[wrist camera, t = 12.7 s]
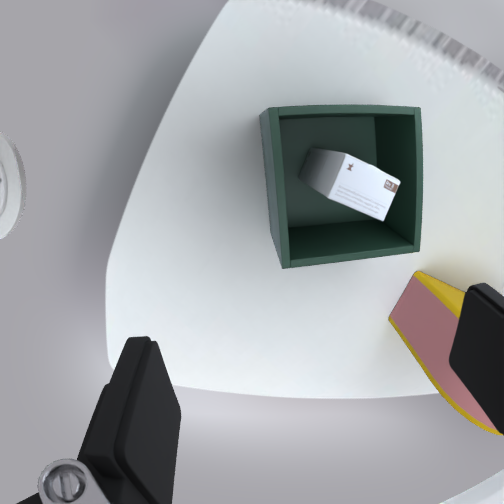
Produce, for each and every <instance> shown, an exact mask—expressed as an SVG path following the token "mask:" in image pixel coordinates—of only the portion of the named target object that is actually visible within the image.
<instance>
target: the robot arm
mask: <svg viewBox="0 0 504 504" xmlns="http://www.w3.org/2000/svg"><path fill="white" fill-rule="evenodd" d="M6 201H7V179H6V174H5V171H4V168H3V165H2V163H1V161H0V217H1V215H2V213H3V211H4V208H5V205H6ZM449 365H450V367H451V369H452V370H453V371H454V372H455V374H456V375H457V376H458V378H459V379H460V380H461V381H462V383H463V384H464V385H465V387H466V388H467V389H468V391H469V392H470V393H471V395H472V396H473V397H474V399H475V400H476V401H477V403H478V404H479V405H480V407H481V408H482V410H483V411H484V412H485V414H486V415H487V416H488V418H489V419H490V421H491V422H492V424H493V425H494V426H495V428H496V429H497V431H498V432H499V433H501V434H503V435H504V296H502V295H501V294H500V293H498V292H497V291H496V290H495V289H493V288H492V287H491V286H489V285H488V284H486V283H480V284H476V285H472V286H470V287H469V288H468V290H467V292H466V293H465V295H464V299H463V304H462V308H461V313H460V317H459V321H458V325H457V329H456V333H455V337H454V341H453V344H452V348H451V352H450V355H449ZM180 421H181V410H180V406H179V403H178V400H177V398H176V395H175V393H174V390H173V387H172V384H171V381H170V378H169V376H168V373H167V370H166V367H165V364H164V361H163V358H162V355H161V352H160V349H159V346H158V343H157V342H156V341H151V339H150V338H149V337H148V336H144V337H129V338H128V339H127V341H126V343H125V346H124V348H123V350H122V353H121V355H120V358H119V360H118V363H117V365H116V367H115V370H114V372H113V375H112V378H111V380H110V383H109V384H106V385H105V386H104V388H103V390H102V392H101V395H100V398H99V400H98V403H97V405H96V408H95V411H94V413H93V416H92V419H91V421H90V424H89V427H88V429H87V432H86V435H85V438H84V441H83V443H82V446H81V449H80V452H79V455H78V458H77V460H74V459H60V460H57V461H54V462H53V463H51V464H50V465H48V466H47V467H46V468H45V469H44V470H43V471H42V473H41V475H40V477H39V480H38V491H39V492H38V493H36V494H35V495H32V496H30V497H29V498H27V499H25V500H23V501H21V502H19V503H17V504H172V496H173V485H174V475H175V465H176V456H177V447H178V439H179V430H180ZM439 504H504V469H503V470H502V471H500V472H498V473H497V474H495V475H493V476H492V477H490V478H488V479H487V480H485V481H483V482H481V483H479V484H478V485H476V486H474V487H472V488H470V489H468V490H466V491H464V492H462V493H460V494H458V495H456V496H454V497H452V498H450V499H448V500H446V501H443V502H441V503H439Z"/></svg>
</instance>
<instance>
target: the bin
mask: <svg viewBox="0 0 504 504" xmlns="http://www.w3.org/2000/svg"><path fill="white" fill-rule="evenodd" d="M259 116H260V125H261V135H262V145H263V155H264V165H265V176H266V186H267V197H268V208H269V219H270V230H271V235H272V238H273V241H274V244H275V248H276V251H277V254H278V257H279V260H280V263H281V266H282V269H285V268H290V267H291V268H294V267H302V266H311V265H319V264H327V263H335V262H344V261H352V260H359V259H367V258H375V257H383V256H390V255H398V254H406V253H413V252H419V251H420V240H421V225H422V203H423V143H422V122H421V108H420V107H406V106H387V105H307V106H287V107H278V108H277V107H272V108H268V109H267V110H265V111H264V112H263V113H261V114H260V115H259ZM310 148H319V149H325V150H330V151H336V152H342V153H346V154H349V155H351V156H353V157H355V158H357V159H359V160H361V161H363V162H365V163H367V164H370V165H373V166H375V167H376V168H378V169H380V170H381V171H383V172H385V173H387V174H389V175H390V176H392V177H394V178H396V179H398V180H399V181H400V184H399V186H398V189H397V191H396V193H395V196H394V198H393V200H392V203H391V205H390V207H389V209H388V212H387V214H386V216H385V219H384V221H381V220H379V219H376V218H374V217H371V216H369V215H367V214H364V213H362V212H360V211H357V210H355V209H353V208H350V207H348V206H346V205H343V204H341V203H338V202H336V201H333V200H331V199H328V198H327V197H326V196H325V195H323V194H321V193H320V192H318V191H316V190H315V189H313V188H312V187H310V186H309V185H307V184H306V183H304V182H302V181H301V180H299V178H298V177H299V174H300V172H301V169H302V167H303V165H304V162H305V160H306V157H307V155H308V153H309V150H310Z"/></svg>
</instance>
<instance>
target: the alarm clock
mask: <svg viewBox="0 0 504 504" xmlns="http://www.w3.org/2000/svg"><path fill="white" fill-rule="evenodd" d="M464 295H465V292H463V291H461V290H459V289H457V288H454V287H452V286H450V285H448V284H446V283H444V282H442V281H440V280H437V279H435V278H433V277H431V276H429V275H427V274H425V273H422V272H420V271H417V272H415V273H414V275H413V276H412V278H411V280H410V282H409V283H408V285H407V287H406V289H405V290H404V292H403V294H402V296H401V297H400V299H399V301H398V302H397V304H396V306H395V307H394V309H393V311H392V312H391V314H390V316H389V321H390V323H391V324H392V325H393V327H394V328H395V330H396V331H397V332H398V334H399V335H400V337H401V338H402V340H403V341H404V342H405V344H406V345H407V347H408V348H409V350H410V351H411V353H412V354H413V356H414V357H415V358H416V360H417V361H418V363H419V364H420V366H421V367H422V369H423V370H424V372H425V373H426V375H427V376H428V378H429V379H430V381H431V382H432V384H433V385H434V386H435V387H436V389H437V390H438V391H439V393H440V394H441V395H442V396H443V397H444V398H445V399H446V400H447V402H448V403H449V404H451V406H452V407H453V408H454V409H456V410H457V411H458V412H459V413H460V414H462V415H463V416H464V417H465V418H466V419H468V420H469V421H470V422H472V423H474V424H475V425H477V426H479V427H480V428H482V429H484V430H486V431H488V432H491V433H494V434H496V435H503V434H501V433H499V432H498V431H497V429H496V428H495V426H494V425H493V424H492V422H491V421H490V419H489V418H488V416H487V415H486V414H485V412H484V411H483V410H482V408H481V407H480V405H479V404H478V403H477V401H476V400H475V399H474V397H473V396H472V395H471V393H470V392H469V391H468V389H467V388H466V387H465V385H464V384H463V383H462V381H461V380H460V379H459V378H458V376H457V375H456V374H455V372H454V371H453V370H452V369H451V367H450V365H449V355H450V352H451V348H452V344H453V341H454V337H455V333H456V329H457V325H458V321H459V317H460V313H461V308H462V304H463V299H464Z"/></svg>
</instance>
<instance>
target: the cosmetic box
mask: <svg viewBox="0 0 504 504" xmlns="http://www.w3.org/2000/svg"><path fill="white" fill-rule="evenodd" d="M298 178H299V180H301V181H302V182H304V183H306V184H307V185H309V186H310V187H312V188H313V189H315V190H316V191H318V192H320V193H321V194H323V195H325V196H326V197H327V198H328V199H331V200H333V201H336V202H338V203H341V204H343V205H346V206H348V207H350V208H353V209H355V210H357V211H360V212H362V213H364V214H367V215H369V216H371V217H374V218H376V219H379V220H381V221H384V219H385V216H386V214H387V212H388V209H389V207H390V205H391V203H392V200H393V198H394V196H395V193H396V191H397V189H398V186H399V184H400V181H399V180H398V179H396V178H394V177H392V176H390V175H389V174H387V173H385V172H383V171H381V170H380V169H378V168H376V167H375V166H373V165H370V164H367V163H365V162H363V161H361V160H359V159H357V158H355V157H353V156H351V155H349V154H346V153H342V152H336V151H330V150H325V149H319V148H310V150H309V153H308V155H307V157H306V160H305V162H304V165H303V167H302V169H301V172H300V174H299V177H298Z"/></svg>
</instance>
